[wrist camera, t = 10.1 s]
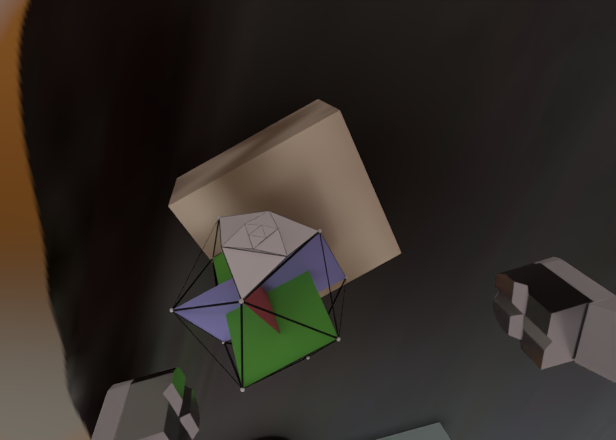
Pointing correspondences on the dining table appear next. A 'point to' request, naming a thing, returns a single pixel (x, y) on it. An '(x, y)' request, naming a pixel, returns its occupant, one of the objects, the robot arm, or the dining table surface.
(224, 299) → the geometric puzzle
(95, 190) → the dining table surface
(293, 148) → the oak base block
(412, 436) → the right angle wall
